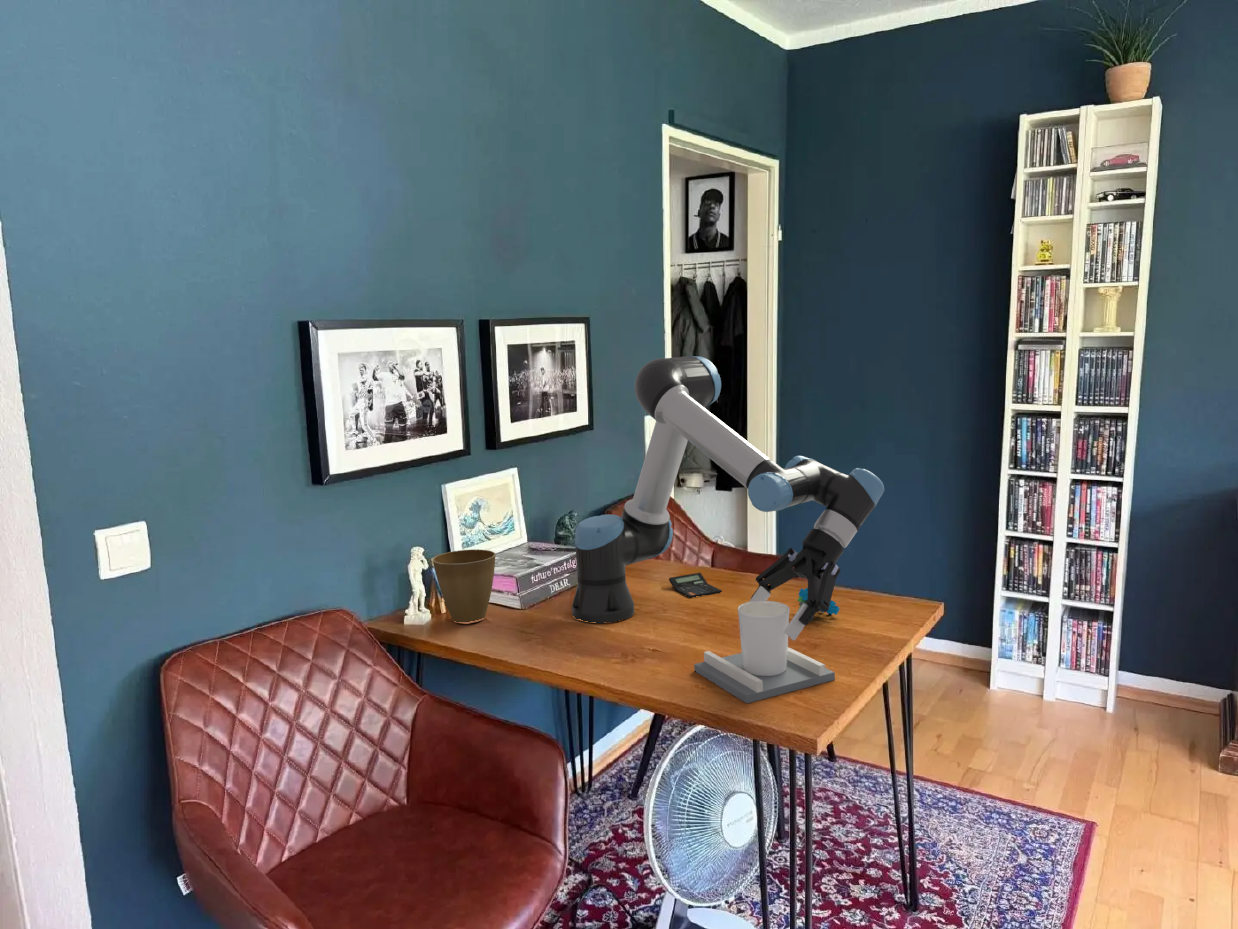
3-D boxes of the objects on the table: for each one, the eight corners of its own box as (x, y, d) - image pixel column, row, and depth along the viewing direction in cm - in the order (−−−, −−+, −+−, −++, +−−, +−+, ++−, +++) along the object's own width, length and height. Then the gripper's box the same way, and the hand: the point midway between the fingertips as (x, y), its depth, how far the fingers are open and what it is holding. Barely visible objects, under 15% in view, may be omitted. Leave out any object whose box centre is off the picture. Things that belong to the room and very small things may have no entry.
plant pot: (512, 616, 209) (508, 552, 207) (465, 634, 198) (460, 567, 196) (472, 607, 219) (467, 545, 217) (425, 623, 208) (419, 558, 205)
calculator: (689, 599, 218) (689, 588, 217) (669, 588, 228) (668, 577, 228) (721, 593, 221) (721, 582, 221) (700, 583, 232) (699, 572, 232)
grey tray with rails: (746, 703, 154) (746, 685, 153) (694, 671, 170) (693, 654, 169) (834, 679, 162) (834, 662, 162) (776, 651, 179) (776, 635, 178)
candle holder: (728, 669, 166) (727, 609, 164) (758, 655, 173) (757, 597, 171) (771, 682, 159) (770, 619, 157) (800, 666, 166) (799, 606, 164)
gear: (849, 612, 196) (822, 587, 192) (837, 634, 194) (810, 609, 190) (815, 607, 206) (789, 583, 202) (804, 628, 204) (778, 604, 200)
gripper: (884, 563, 159) (820, 656, 155) (799, 537, 181) (742, 619, 177) (861, 539, 156) (796, 634, 152) (778, 516, 178) (719, 598, 174)
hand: (767, 626), depth 165 cm, fingers open, 13 cm apart
